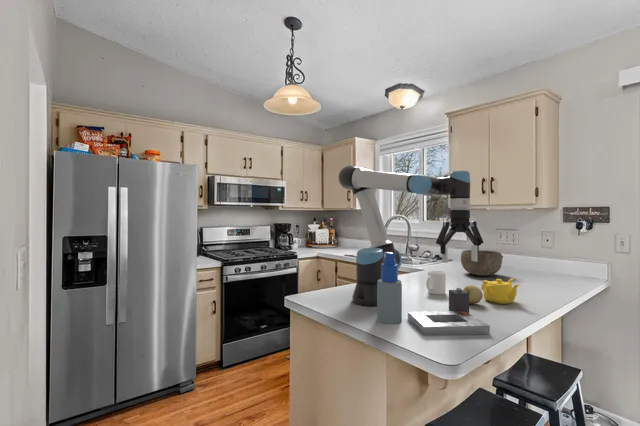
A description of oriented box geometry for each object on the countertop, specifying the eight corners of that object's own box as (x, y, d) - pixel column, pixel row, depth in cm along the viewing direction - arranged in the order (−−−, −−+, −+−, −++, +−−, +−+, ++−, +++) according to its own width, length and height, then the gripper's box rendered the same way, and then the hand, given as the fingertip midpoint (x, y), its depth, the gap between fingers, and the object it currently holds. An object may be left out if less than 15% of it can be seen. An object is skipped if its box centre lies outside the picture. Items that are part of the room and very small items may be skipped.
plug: (455, 316, 127) (455, 290, 127) (448, 312, 132) (448, 286, 132) (469, 316, 127) (469, 289, 127) (462, 312, 133) (462, 286, 133)
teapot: (520, 307, 140) (520, 283, 140) (484, 304, 145) (485, 281, 144) (512, 298, 153) (513, 277, 153) (480, 296, 158) (480, 275, 157)
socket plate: (424, 335, 107) (424, 324, 107) (407, 319, 123) (407, 310, 123) (489, 334, 109) (489, 323, 109) (465, 318, 125) (465, 309, 125)
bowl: (504, 274, 214) (504, 250, 214) (501, 280, 193) (501, 254, 193) (464, 270, 227) (464, 248, 227) (457, 276, 206) (457, 252, 206)
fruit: (459, 301, 148) (459, 283, 148) (478, 301, 148) (478, 283, 148) (466, 306, 141) (466, 287, 141) (486, 306, 141) (486, 287, 141)
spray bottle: (380, 324, 118) (380, 254, 118) (374, 316, 127) (374, 251, 127) (405, 323, 119) (405, 253, 119) (397, 315, 128) (397, 250, 128)
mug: (433, 297, 156) (434, 275, 156) (419, 293, 163) (419, 272, 163) (449, 293, 163) (449, 272, 163) (434, 290, 170) (434, 269, 170)
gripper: (437, 209, 128) (437, 264, 128) (493, 209, 134) (492, 262, 134) (427, 209, 135) (427, 261, 135) (480, 209, 141) (479, 259, 141)
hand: (459, 261), depth 135 cm, fingers open, 13 cm apart
